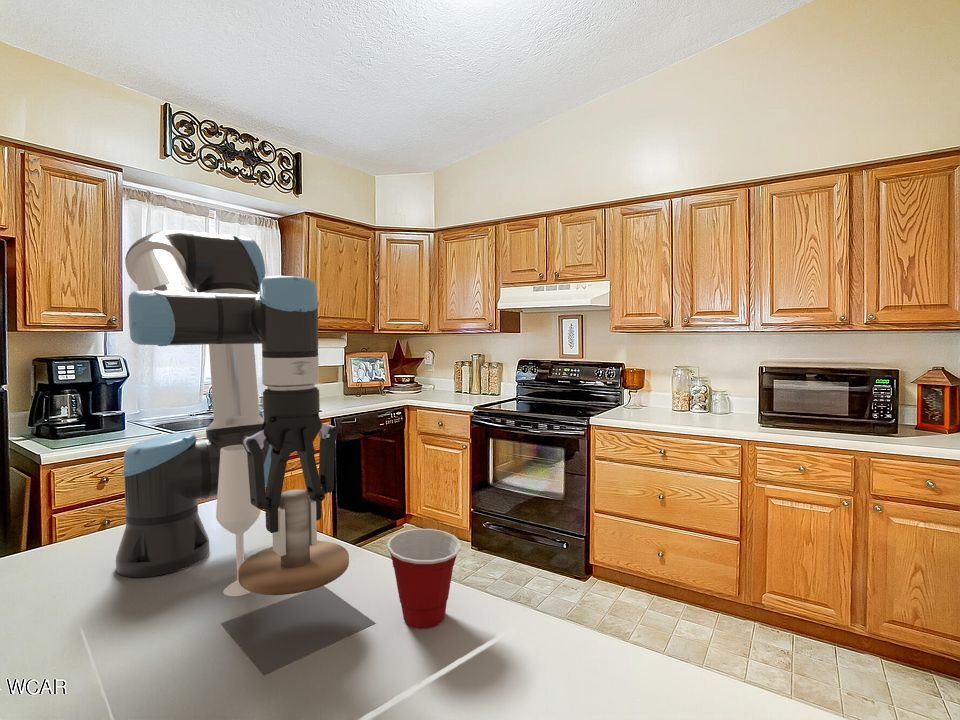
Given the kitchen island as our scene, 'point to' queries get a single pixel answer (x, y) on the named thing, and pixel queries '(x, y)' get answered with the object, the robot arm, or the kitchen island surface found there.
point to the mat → (295, 628)
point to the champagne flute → (235, 503)
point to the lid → (294, 556)
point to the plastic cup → (423, 573)
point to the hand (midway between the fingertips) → (295, 547)
